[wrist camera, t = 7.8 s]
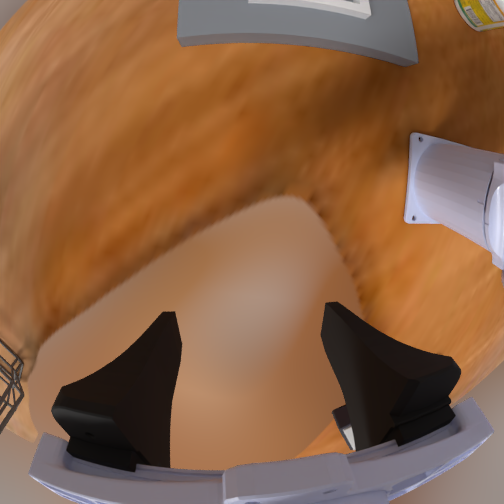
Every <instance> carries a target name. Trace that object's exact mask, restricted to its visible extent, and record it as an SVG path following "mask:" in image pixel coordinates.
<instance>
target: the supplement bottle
mask: <svg viewBox="0 0 504 504" xmlns="http://www.w3.org/2000/svg"><path fill="white" fill-rule="evenodd" d="M454 2H455V6H456V8H457V10H458V12H459V14H460V15H461V17H462V18H463V19H464V21H465V22H466V23H467V24H468V25H469V26H470V27H471V28H473V29H474V30H476V31H480V32H481V31H487V30H492V29H498V28H504V0H454Z"/></svg>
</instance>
